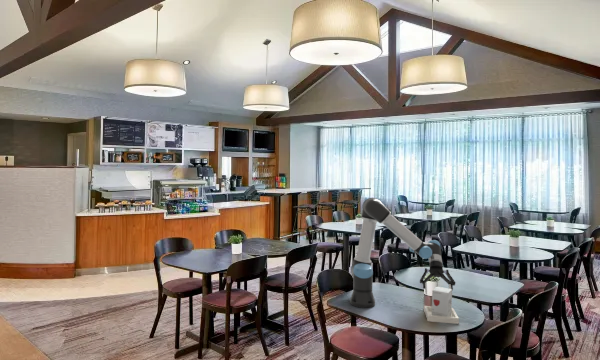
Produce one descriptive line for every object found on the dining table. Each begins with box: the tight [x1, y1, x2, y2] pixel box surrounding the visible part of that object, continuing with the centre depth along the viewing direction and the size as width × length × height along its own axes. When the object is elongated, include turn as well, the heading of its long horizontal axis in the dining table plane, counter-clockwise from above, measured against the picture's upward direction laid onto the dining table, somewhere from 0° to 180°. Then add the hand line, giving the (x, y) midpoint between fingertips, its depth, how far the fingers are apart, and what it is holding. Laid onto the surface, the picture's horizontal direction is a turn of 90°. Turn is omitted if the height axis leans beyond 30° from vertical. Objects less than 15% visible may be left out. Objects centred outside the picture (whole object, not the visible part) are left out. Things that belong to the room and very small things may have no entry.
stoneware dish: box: [423, 305, 460, 325], centre depth 220 cm, size 16×16×3 cm
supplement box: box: [431, 286, 453, 317], centre depth 219 cm, size 9×9×15 cm
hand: (438, 294), depth 230 cm, fingers open, 13 cm apart
